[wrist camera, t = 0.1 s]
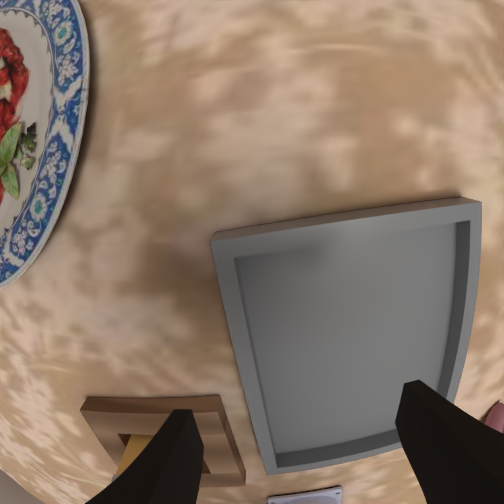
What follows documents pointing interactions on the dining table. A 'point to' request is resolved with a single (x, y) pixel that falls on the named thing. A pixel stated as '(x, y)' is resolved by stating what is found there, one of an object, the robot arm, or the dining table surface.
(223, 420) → the socket
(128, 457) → the block
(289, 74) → the dining table surface
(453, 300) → the parts tray
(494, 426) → the video game controller
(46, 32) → the ceramic plate
